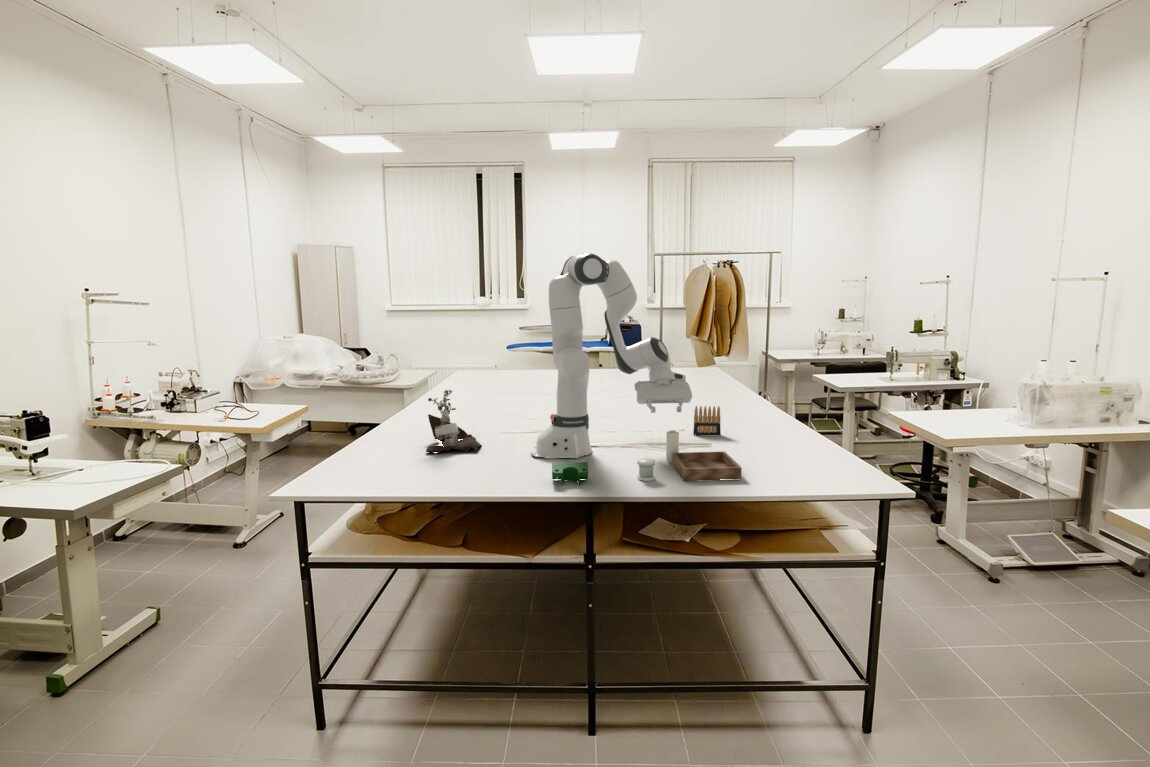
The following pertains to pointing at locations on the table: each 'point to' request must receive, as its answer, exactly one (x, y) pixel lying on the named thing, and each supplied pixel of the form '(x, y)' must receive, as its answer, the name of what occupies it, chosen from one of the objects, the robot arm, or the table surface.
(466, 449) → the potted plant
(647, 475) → the small spool
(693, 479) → the tray
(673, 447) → the grey tall block
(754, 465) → the table surface
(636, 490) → the table surface
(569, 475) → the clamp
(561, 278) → the robot arm
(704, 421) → the ammunition clip
